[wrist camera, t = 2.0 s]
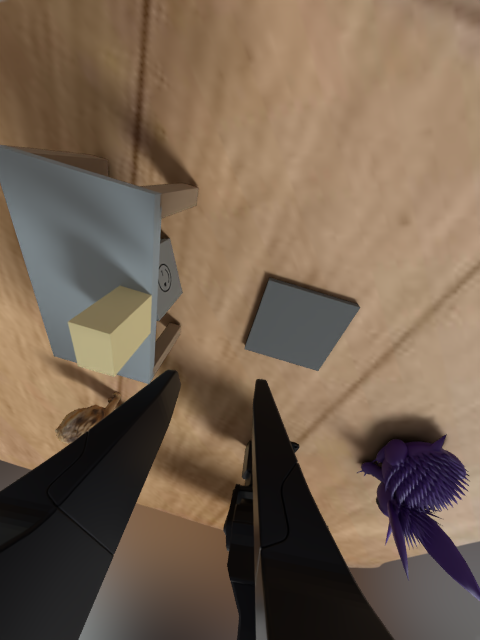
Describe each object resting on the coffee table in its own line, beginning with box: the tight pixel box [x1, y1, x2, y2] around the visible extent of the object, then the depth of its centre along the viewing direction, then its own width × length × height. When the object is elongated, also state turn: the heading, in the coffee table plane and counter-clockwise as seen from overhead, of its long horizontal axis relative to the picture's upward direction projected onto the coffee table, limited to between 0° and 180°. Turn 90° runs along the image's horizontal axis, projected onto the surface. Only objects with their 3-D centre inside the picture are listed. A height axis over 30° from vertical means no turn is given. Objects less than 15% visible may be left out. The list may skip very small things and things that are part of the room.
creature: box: [357, 434, 480, 601], centre depth 26 cm, size 9×18×12 cm, turn 172°
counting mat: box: [245, 277, 360, 371], centre depth 21 cm, size 8×8×1 cm
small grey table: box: [0, 145, 199, 384], centre depth 15 cm, size 8×14×11 cm, turn 166°
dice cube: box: [156, 238, 183, 321], centre depth 18 cm, size 5×5×5 cm
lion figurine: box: [55, 392, 121, 444], centre depth 31 cm, size 12×4×7 cm, turn 43°
